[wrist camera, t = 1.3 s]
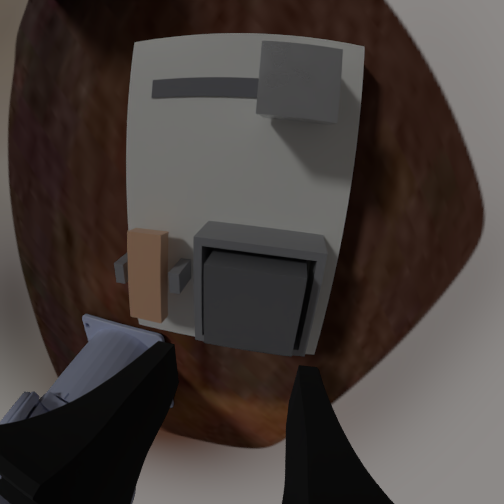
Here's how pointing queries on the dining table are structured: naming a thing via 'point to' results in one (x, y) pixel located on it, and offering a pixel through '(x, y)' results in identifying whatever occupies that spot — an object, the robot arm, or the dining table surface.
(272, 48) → the slider knob
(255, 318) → the push button
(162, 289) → the rocker switch
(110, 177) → the dining table surface
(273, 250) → the control panel
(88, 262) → the dining table surface
